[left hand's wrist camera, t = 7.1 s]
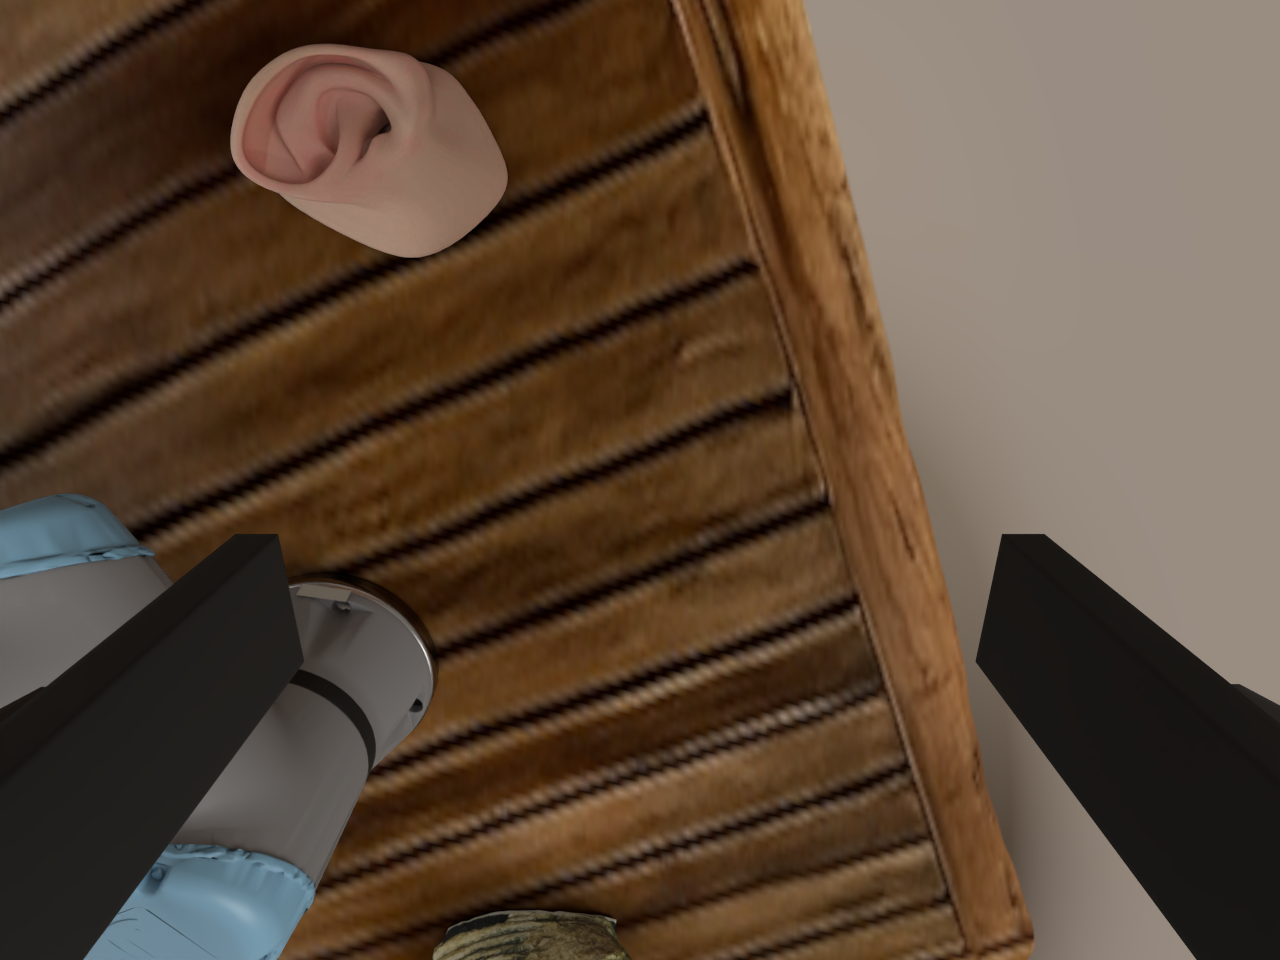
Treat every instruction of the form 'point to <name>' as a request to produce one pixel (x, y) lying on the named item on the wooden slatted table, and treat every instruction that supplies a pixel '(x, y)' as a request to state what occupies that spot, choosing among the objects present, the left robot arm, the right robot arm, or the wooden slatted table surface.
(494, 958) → the fossil
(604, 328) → the wooden slatted table surface
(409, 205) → the anatomical model
